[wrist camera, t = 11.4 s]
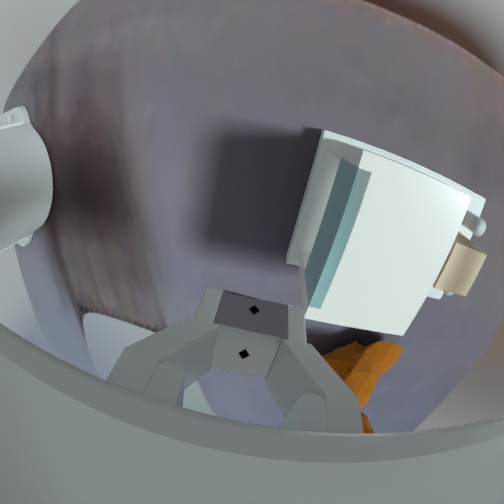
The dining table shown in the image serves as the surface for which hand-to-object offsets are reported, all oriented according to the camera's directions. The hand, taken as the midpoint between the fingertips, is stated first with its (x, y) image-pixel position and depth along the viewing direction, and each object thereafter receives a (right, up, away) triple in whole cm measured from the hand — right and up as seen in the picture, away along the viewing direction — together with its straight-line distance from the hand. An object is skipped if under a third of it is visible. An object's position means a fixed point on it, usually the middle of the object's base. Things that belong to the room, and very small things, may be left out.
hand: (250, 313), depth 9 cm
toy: (+12, -10, +23) cm, 28 cm away
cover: (+9, +5, +14) cm, 17 cm away
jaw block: (+17, +3, +14) cm, 22 cm away
